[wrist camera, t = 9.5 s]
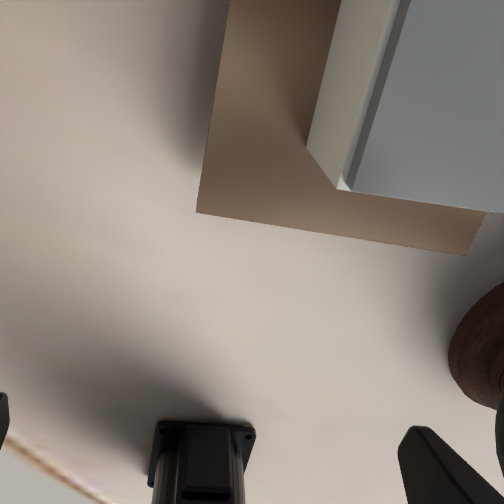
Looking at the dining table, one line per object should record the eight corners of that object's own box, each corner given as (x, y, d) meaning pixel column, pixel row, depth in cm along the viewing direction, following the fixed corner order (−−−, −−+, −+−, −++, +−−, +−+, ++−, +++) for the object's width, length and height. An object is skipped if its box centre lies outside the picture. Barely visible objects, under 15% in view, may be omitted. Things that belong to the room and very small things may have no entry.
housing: (385, -179, 11) (494, -307, 7) (545, -131, 12) (734, -218, 8) (305, 147, 15) (342, 197, 11) (428, 166, 16) (507, 220, 12)
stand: (433, 226, 21) (464, 255, 18) (198, 186, 19) (195, 212, 16) (633, -205, 14) (733, -259, 11) (284, -350, 12) (305, -458, 9)
